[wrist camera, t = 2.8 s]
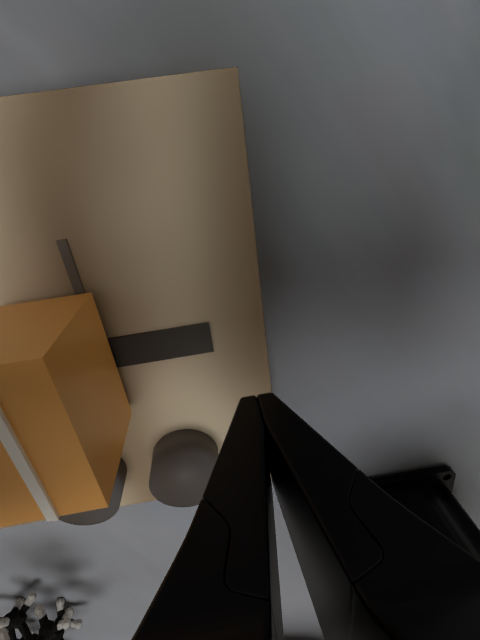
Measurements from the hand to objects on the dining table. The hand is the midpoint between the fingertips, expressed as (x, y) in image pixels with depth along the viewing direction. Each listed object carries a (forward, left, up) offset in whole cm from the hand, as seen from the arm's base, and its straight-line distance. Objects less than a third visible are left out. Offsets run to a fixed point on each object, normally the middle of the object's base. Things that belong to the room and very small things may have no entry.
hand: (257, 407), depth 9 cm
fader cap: (+6, 0, -4) cm, 7 cm away
